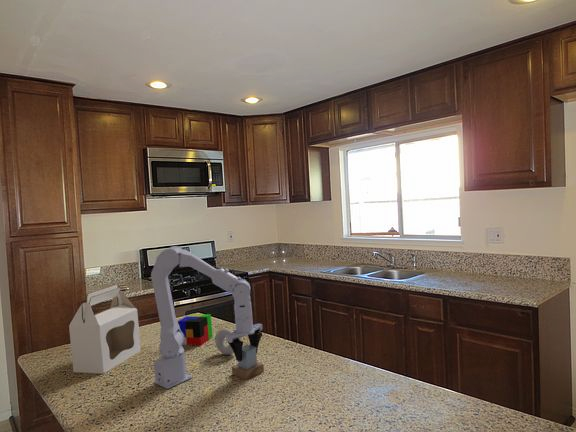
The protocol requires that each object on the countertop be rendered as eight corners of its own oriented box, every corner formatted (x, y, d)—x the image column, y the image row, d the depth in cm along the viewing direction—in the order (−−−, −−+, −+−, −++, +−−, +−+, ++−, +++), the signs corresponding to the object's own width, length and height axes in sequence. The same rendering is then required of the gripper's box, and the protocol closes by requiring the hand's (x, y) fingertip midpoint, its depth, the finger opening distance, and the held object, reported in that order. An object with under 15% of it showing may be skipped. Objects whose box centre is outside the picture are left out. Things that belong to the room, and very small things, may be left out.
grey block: (247, 369, 131) (246, 351, 131) (237, 366, 134) (236, 348, 134) (257, 364, 134) (256, 347, 134) (248, 361, 138) (247, 344, 137)
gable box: (103, 374, 142) (95, 296, 141) (72, 372, 146) (65, 296, 145) (141, 350, 164) (135, 282, 163) (113, 349, 167) (107, 283, 166)
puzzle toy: (179, 344, 167) (177, 321, 167) (192, 336, 177) (190, 314, 176) (201, 345, 164) (199, 321, 164) (212, 337, 174) (210, 314, 174)
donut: (240, 354, 151) (238, 328, 151) (235, 357, 148) (233, 331, 148) (220, 351, 156) (218, 325, 156) (214, 354, 153) (212, 328, 153)
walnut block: (246, 381, 129) (246, 372, 129) (232, 375, 134) (231, 366, 134) (263, 372, 135) (263, 364, 135) (249, 367, 140) (248, 359, 140)
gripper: (235, 324, 126) (238, 367, 126) (267, 312, 137) (270, 352, 137) (220, 321, 130) (224, 362, 131) (253, 310, 141) (256, 348, 142)
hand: (246, 356), depth 134 cm, fingers open, 6 cm apart
